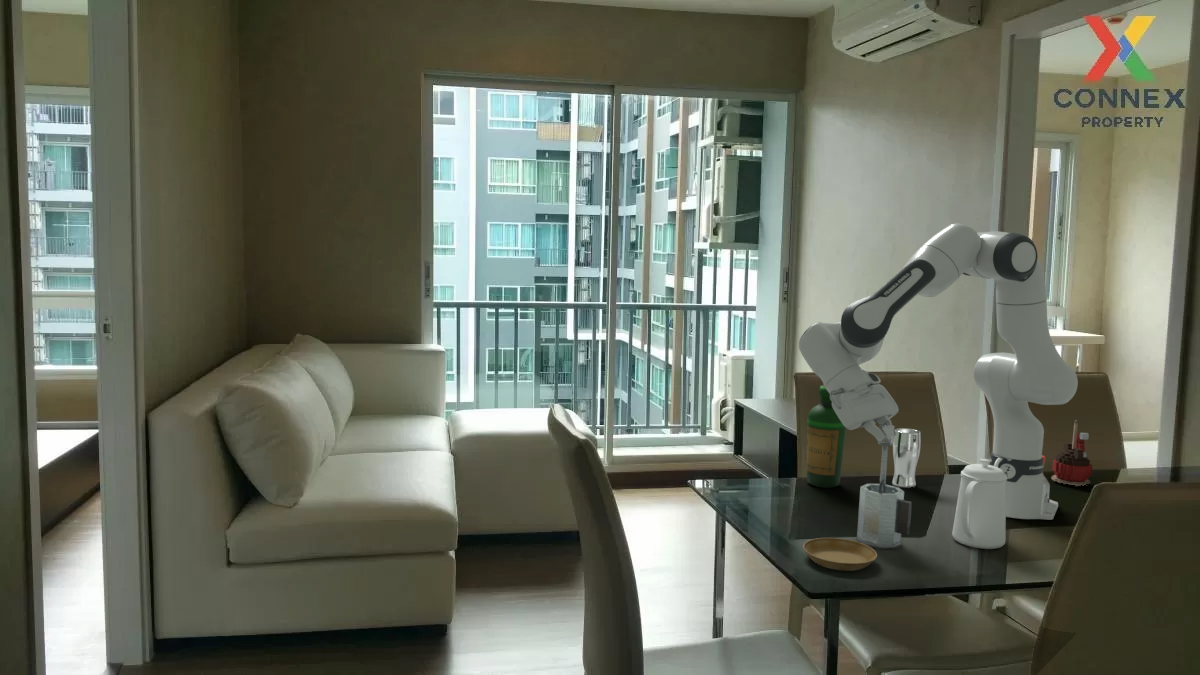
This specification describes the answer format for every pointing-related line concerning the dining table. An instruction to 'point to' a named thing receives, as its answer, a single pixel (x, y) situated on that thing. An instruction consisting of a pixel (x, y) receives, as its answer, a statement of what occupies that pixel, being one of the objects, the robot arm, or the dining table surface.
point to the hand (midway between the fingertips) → (888, 438)
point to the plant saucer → (839, 553)
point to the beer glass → (905, 456)
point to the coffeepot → (981, 506)
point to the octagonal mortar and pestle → (883, 517)
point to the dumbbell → (885, 453)
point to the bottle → (824, 443)
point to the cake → (1073, 462)
